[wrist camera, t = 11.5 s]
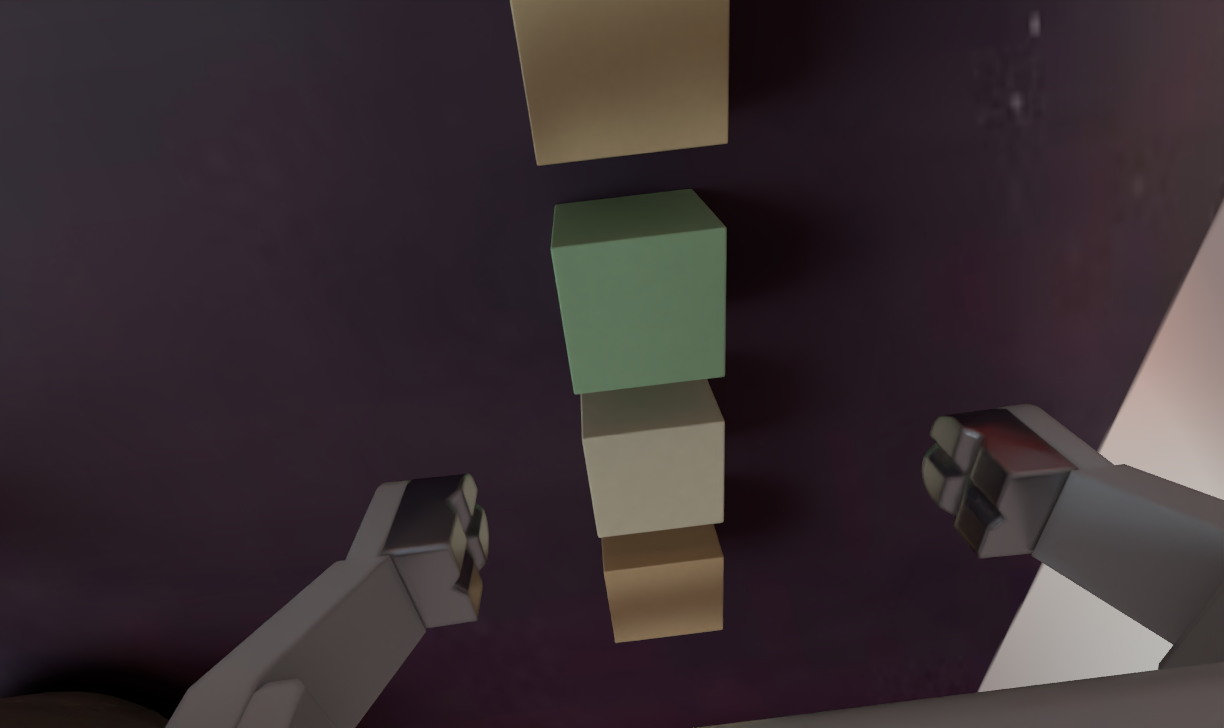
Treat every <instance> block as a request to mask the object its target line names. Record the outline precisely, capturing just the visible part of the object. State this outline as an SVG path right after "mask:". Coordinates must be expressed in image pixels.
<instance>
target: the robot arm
mask: <svg viewBox="0 0 1224 728" xmlns="http://www.w3.org/2000/svg"><path fill="white" fill-rule="evenodd" d="M930 435H931V437H932V438H933V439H934V441H935V442H936V443H935V444H934V445H933V446H932V447H931V448H930V449H929V450H928V451H927V452H926V453H925V454H924V459H923V464H922V468H921V469H922V475H923V481H924V485H925V487H926V489H927V491H928V493H929V495H930V496H931V498H932V499H933V500H934V502H935V503H936V504H937V506H938V507H940V508H942V509H944V510H946V511H948V512H950V513H952V514H954V515H955V520H954V527H955V528H956V530H957V531H958V532H959V533H960V535H961V536H962V537H963V538H964V540H965V541H966V542H967V543H968V544H969V546H970V547H971V548H972V549H973V551H974V552H975V553H976V554H977V556H978V557H979V558H986V557H997V556H1007V555H1018V554H1028V553H1033V554H1032V556H1033V557H1034V558H1036V559H1038V560H1039V561H1041V562H1042V563H1044V564H1046V565H1047V566H1049V567H1050V568H1052V569H1054V570H1055V571H1057V572H1058V573H1060V574H1062V575H1063V576H1065V577H1066V578H1068V579H1070V580H1071V581H1073V582H1074V583H1076V584H1078V585H1079V586H1081V587H1082V588H1084V589H1086V590H1087V591H1089V592H1090V593H1092V594H1094V595H1095V596H1097V597H1098V598H1100V599H1102V600H1103V601H1105V602H1106V603H1108V604H1109V605H1111V606H1113V607H1114V608H1116V609H1117V610H1119V611H1121V612H1122V613H1124V614H1125V615H1127V616H1129V617H1130V618H1132V619H1133V620H1135V621H1137V622H1138V623H1140V624H1142V625H1143V626H1145V627H1146V628H1148V629H1149V630H1151V631H1153V632H1154V633H1156V634H1157V635H1159V636H1161V637H1162V638H1164V639H1165V640H1167V641H1168V642H1170V643H1172V644H1173V647H1172V648H1171V649H1170V650H1169V652H1168V653H1167V654H1166V656H1165V657H1164V658H1163V659H1162V661H1161V662H1160V663H1159V667H1158V670H1154V671H1146V672H1138V673H1130V674H1122V675H1114V676H1106V677H1098V678H1090V679H1082V680H1074V681H1066V682H1059V683H1050V684H1043V685H1034V686H1026V687H1018V688H1010V689H1002V690H994V691H986V692H978V693H970V694H962V695H953V696H945V697H937V698H929V699H921V700H913V701H905V702H897V703H889V704H881V705H873V706H865V707H857V708H849V709H841V710H833V711H825V712H818V713H810V714H802V715H794V716H786V717H778V718H770V719H762V720H754V721H746V722H738V723H730V724H722V725H714V726H707V727H699V728H1224V500H1221V499H1218V498H1216V497H1213V496H1210V495H1208V494H1204V493H1202V492H1199V491H1197V490H1194V489H1191V488H1188V487H1186V486H1183V485H1180V484H1177V483H1175V482H1172V481H1169V480H1166V479H1163V478H1161V477H1158V476H1155V475H1153V474H1150V473H1147V472H1144V471H1142V470H1139V469H1136V468H1133V467H1131V466H1127V465H1125V464H1122V465H1113V464H1112V463H1111V462H1110V461H1108V460H1107V459H1106V458H1104V457H1103V456H1102V455H1101V454H1099V453H1098V452H1097V451H1095V450H1094V449H1093V448H1091V447H1090V446H1089V445H1088V444H1086V443H1085V442H1084V441H1082V440H1081V439H1080V438H1078V437H1077V436H1076V435H1075V434H1073V433H1072V432H1071V431H1069V430H1068V429H1067V428H1065V427H1064V426H1063V425H1062V424H1060V423H1059V422H1058V421H1056V420H1055V419H1054V418H1052V417H1051V416H1050V415H1049V414H1047V413H1046V412H1045V411H1043V410H1042V409H1041V408H1039V407H1037V406H1034V405H1031V404H1021V405H1014V406H1007V407H999V408H997V409H988V410H980V411H973V412H965V413H957V414H950V415H942V416H939V417H938V418H937V419H936V420H935V421H934V423H933V425H932V429H931V432H930ZM476 496H477V487H476V484H475V482H474V479H473V476H471V475H469V474H462V475H452V476H441V477H431V478H421V479H412V480H407V481H397V482H387V483H383V484H382V485H380V486H379V487H378V488H377V490H376V492H375V494H374V496H373V498H372V501H371V503H370V505H369V508H368V510H367V512H366V514H365V517H364V519H363V521H362V523H361V526H360V528H359V530H358V532H357V535H356V537H355V539H354V542H353V544H352V546H351V548H350V551H349V553H348V555H347V557H346V560H345V561H337V562H335V563H334V564H333V565H332V566H330V567H329V568H328V569H327V570H326V571H325V572H323V573H322V574H321V575H320V576H319V577H318V578H316V579H315V580H314V581H313V582H312V583H311V584H310V585H308V586H307V587H306V588H305V589H304V590H303V591H301V592H300V593H299V594H298V595H297V596H296V597H294V598H293V599H292V600H291V601H290V602H289V603H287V604H286V605H285V606H284V607H283V608H282V609H280V610H279V611H278V612H277V613H276V614H275V615H273V616H272V617H271V618H270V619H269V620H268V621H266V622H265V623H264V624H263V625H262V626H261V627H259V628H258V629H257V630H256V631H255V632H254V633H252V634H251V635H250V636H249V637H248V638H247V639H245V640H244V641H243V642H242V643H241V644H240V645H239V646H237V647H236V648H235V649H234V650H233V651H232V652H230V653H229V654H228V655H227V656H226V657H225V658H223V659H222V660H221V661H220V662H219V663H218V664H216V665H215V666H214V667H213V668H212V669H211V670H209V671H208V672H207V673H206V674H205V675H204V676H202V677H201V678H200V679H199V680H198V681H197V682H195V683H194V684H193V685H192V686H191V687H190V688H188V690H187V692H186V693H185V695H184V697H183V698H182V700H181V702H180V703H179V705H178V707H177V708H176V710H175V712H174V713H173V715H172V717H171V718H170V720H169V722H168V723H167V725H166V727H165V728H355V727H356V726H357V724H358V723H359V722H360V720H361V719H362V718H363V716H364V715H365V714H366V712H367V711H368V710H369V708H370V707H371V705H372V704H373V703H374V701H375V700H376V699H377V697H378V696H379V695H380V693H381V692H382V691H383V689H384V688H385V686H386V685H387V684H388V682H389V681H390V680H391V678H392V677H393V676H394V674H395V673H396V672H397V670H398V669H399V667H400V666H401V665H402V663H403V662H404V661H405V659H406V658H407V657H408V655H409V654H410V653H411V651H412V650H413V648H414V647H415V646H416V644H417V643H418V642H419V640H420V639H421V638H422V636H423V635H424V634H425V632H426V630H425V628H431V627H438V626H444V625H451V624H457V623H464V622H470V621H477V618H478V612H479V606H480V600H481V594H482V588H483V583H482V580H481V577H480V574H479V572H478V571H479V570H480V569H481V568H482V567H483V566H484V565H485V563H486V562H487V557H488V550H489V530H488V524H487V518H486V515H485V512H484V508H482V507H481V506H479V505H478V504H476V503H475V501H476Z"/></svg>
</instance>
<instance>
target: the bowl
mask: <svg viewBox="0 0 1224 728" xmlns="http://www.w3.org/2000/svg"><path fill="white" fill-rule="evenodd" d="M168 722H169V720H168V719H166V718H165V717H163V716H162V715H160V714H159V713H158V712H156V711H155V710H151V709H148V708H147V707H144V706H141V705H138V704H135V703H133V702H130V701H128V700H124V699H121V698H118V697H114V696H111V695H105V694H100V693H92V692H80V691H64V692H44V693H38V694H31V695H22V696H15V697H5V698H0V728H165V727H166V725H167V723H168Z"/></svg>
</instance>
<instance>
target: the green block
mask: <svg viewBox="0 0 1224 728" xmlns="http://www.w3.org/2000/svg"><path fill="white" fill-rule="evenodd" d="M551 255H552V261H553V267H554V273H555V280H556V286H557V292H558V298H559V304H560V310H561V316H562V322H563V328H564V335H565V341H566V347H567V353H568V359H569V365H570V371H571V377H572V383H573V389H574V393H575V394H576V395H577V394H585V393H594V392H602V391H610V390H618V389H627V388H635V387H643V386H651V385H660V384H668V383H676V382H685V381H693V380H701V379H709V378H718V377H724V376H725V348H726V259H727V228H726V226H725V225H724V224H723V223H722V222H721V221H720V220H719V219H718V218H717V216H716V215H715V214H714V213H713V212H712V211H711V210H710V209H709V207H708V206H707V205H706V204H705V203H704V202H703V201H702V200H701V199H700V197H699V196H698V195H697V194H696V193H695V192H694V191H693V190H692V189H684V190H675V191H667V192H658V193H650V194H641V195H633V196H624V197H616V198H607V199H599V200H590V201H582V202H574V203H565V204H557V205H555V211H554V221H553V231H552V241H551Z"/></svg>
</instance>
